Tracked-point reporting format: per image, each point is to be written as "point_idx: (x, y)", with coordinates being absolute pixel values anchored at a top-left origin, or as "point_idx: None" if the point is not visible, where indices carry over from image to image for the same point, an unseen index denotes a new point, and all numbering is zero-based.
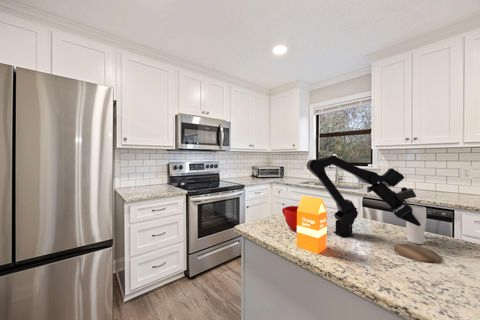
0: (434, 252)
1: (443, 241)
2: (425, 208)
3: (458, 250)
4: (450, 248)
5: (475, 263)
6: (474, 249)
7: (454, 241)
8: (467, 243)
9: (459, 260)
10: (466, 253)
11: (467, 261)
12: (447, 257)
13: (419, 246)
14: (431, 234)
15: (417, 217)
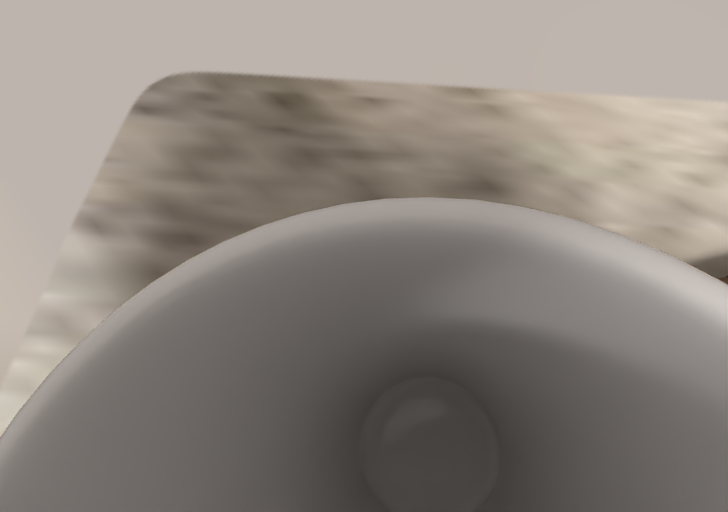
0: None
1: (220, 229)
2: (558, 217)
3: (391, 156)
4: (382, 197)
5: (610, 95)
6: (289, 80)
7: (170, 165)
8: (169, 103)
9: (639, 165)
10: (424, 121)
11: (612, 127)
12: (645, 225)
13: None
14: (57, 300)
15: (675, 500)
